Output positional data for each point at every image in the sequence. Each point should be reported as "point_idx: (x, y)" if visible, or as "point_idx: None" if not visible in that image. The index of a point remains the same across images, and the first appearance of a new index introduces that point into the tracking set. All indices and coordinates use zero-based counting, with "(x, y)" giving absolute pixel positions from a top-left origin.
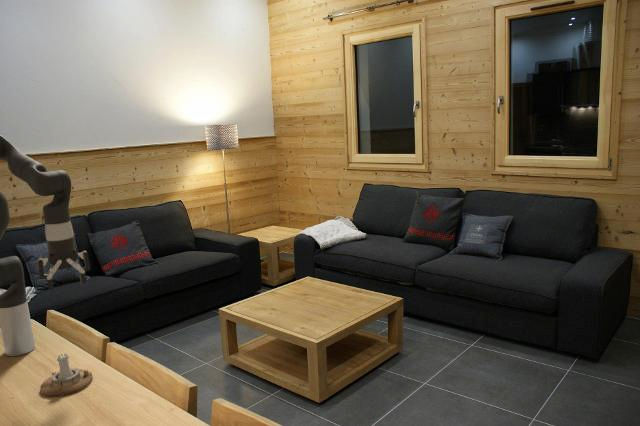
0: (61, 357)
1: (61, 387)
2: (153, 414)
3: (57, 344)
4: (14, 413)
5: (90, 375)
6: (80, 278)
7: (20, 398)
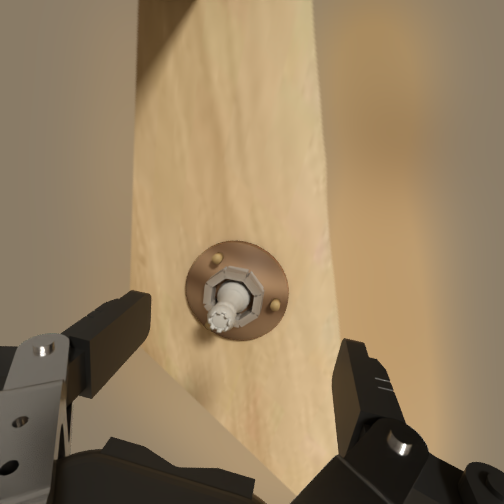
0: (215, 325)
1: None
2: None
3: None
4: None
5: (282, 311)
6: (345, 382)
7: (154, 276)
